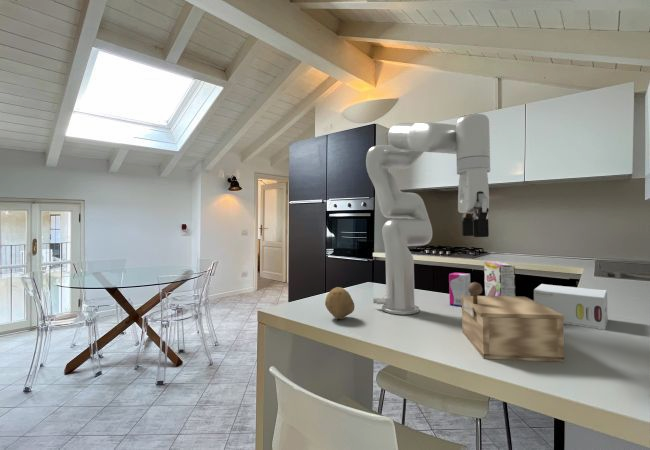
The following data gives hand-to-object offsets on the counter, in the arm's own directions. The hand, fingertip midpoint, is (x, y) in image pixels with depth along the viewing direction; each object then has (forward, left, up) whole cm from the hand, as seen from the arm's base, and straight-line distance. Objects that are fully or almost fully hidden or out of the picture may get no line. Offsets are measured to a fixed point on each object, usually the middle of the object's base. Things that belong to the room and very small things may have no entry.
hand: (474, 236), depth 81 cm
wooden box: (+7, 0, -26) cm, 27 cm away
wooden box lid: (+6, 0, -19) cm, 20 cm away
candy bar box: (+16, +31, -27) cm, 44 cm away
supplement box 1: (+6, +41, -27) cm, 49 cm away
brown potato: (-36, +19, -27) cm, 49 cm away
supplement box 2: (+34, +25, -27) cm, 50 cm away
